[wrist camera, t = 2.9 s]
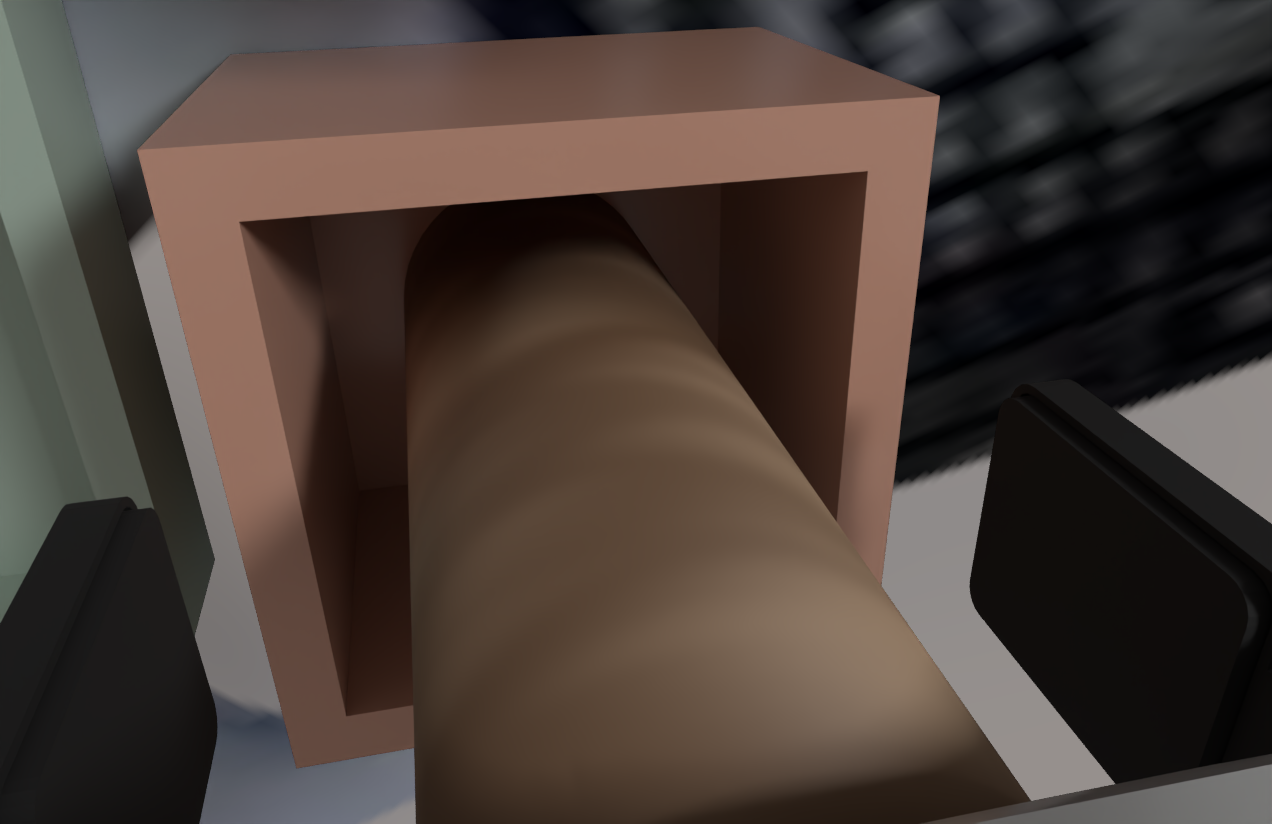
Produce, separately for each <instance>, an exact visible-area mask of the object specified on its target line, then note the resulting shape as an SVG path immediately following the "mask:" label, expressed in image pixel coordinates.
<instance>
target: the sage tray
mask: <svg viewBox="0 0 1272 824" xmlns="http://www.w3.org/2000/svg"><path fill="white" fill-rule="evenodd" d="M125 496H128V497H130V498H131V499H132V500H133V501H134V503H135V504H136V506H137V508H138V509H143V508H153V509H154V510H155V512H156V513H157V515H158V517H159V520H160V523H161V526H162V530H163V533H164V536H165V540H166V543H167V546H168V550H169V553H170V556H171V560H172V563H173V566H174V570H175V573H176V576H177V580H178V583H179V586H180V590H181V593H182V596H183V600H184V603H185V606H186V610H187V613H188V616H189V620H190V623H191V626H192V630H193V633H194V636H195V632H196V628H197V624H198V621H199V617H200V613H201V609H202V606H203V602H204V598H205V595H206V591H207V587H208V583H209V580H210V576H211V572H212V568H213V565H214V561H215V558H214V554H213V551H212V547H211V544H210V540H209V536H208V533H207V529H206V525H205V522H204V518H203V514H202V511H201V507H200V503H199V500H198V496H197V492H196V489H195V485H194V481H193V478H192V474H191V470H190V467H189V463H188V460H187V456H186V452H185V449H184V445H183V441H182V438H181V434H180V430H179V427H178V423H177V420H176V416H175V413H174V408H173V405H172V401H171V398H170V394H169V390H168V387H167V383H166V380H165V376H164V372H163V369H162V365H161V361H160V357H159V354H158V350H157V346H156V343H155V339H154V336H153V332H152V328H151V325H150V321H149V317H148V314H147V310H146V306H145V303H144V299H143V295H142V292H141V288H140V284H139V281H138V277H137V274H136V270H135V266H134V263H133V259H132V255H131V252H130V248H129V244H128V241H127V237H126V233H125V230H124V226H123V222H122V219H121V215H120V212H119V208H118V204H117V201H116V197H115V193H114V190H113V186H112V182H111V179H110V175H109V171H108V168H107V164H106V160H105V157H104V153H103V150H102V146H101V142H100V139H99V135H98V131H97V128H96V124H95V120H94V117H93V113H92V109H91V106H90V102H89V98H88V95H87V91H86V88H85V84H84V80H83V77H82V73H81V69H80V66H79V62H78V58H77V55H76V51H75V47H74V44H73V40H72V36H71V33H70V29H69V26H68V22H67V18H66V15H65V11H64V7H63V4H62V0H0V623H1V621H2V619H3V617H4V615H5V613H6V611H7V610H8V608H9V606H10V604H11V602H12V600H13V598H14V596H15V595H16V593H17V591H18V589H19V587H20V585H21V583H22V582H23V580H24V578H25V576H26V574H27V572H28V570H29V568H30V567H31V565H32V563H33V561H34V559H35V557H36V555H37V554H38V552H39V550H40V548H41V546H42V544H43V542H44V540H45V539H46V537H47V535H48V533H49V531H50V529H51V527H52V525H53V524H54V522H55V520H56V518H57V516H58V514H59V512H60V511H61V509H62V508H63V507H64V506H65V505H66V504H70V503H77V502H85V501H93V500H101V499H109V498H117V497H125Z"/></svg>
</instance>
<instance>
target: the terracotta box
mask: <svg viewBox="0 0 1272 824" xmlns="http://www.w3.org/2000/svg"><path fill="white" fill-rule="evenodd" d="M939 99H940V96H938V95H936V94H933V93H931V92H928V91H925V90H923V89H920V88H917V87H915V86H912V85H910V84H907V83H904V82H902V81H899V80H896V79H894V78H891V77H889V76H886V75H883V74H881V73H878V72H876V71H873V70H870V69H868V68H865V67H862V66H860V65H857V64H855V63H852V62H849V61H847V60H844V59H841V58H839V57H836V56H834V55H831V54H828V53H826V52H823V51H820V50H818V49H815V48H813V47H810V46H807V45H805V44H802V43H800V42H797V41H794V40H792V39H789V38H786V37H784V36H781V35H779V34H776V33H773V32H771V31H768V30H765V29H763V28H760V27H748V28H728V29H709V30H690V31H671V32H652V33H632V34H613V35H594V36H575V37H555V38H536V39H517V40H498V41H478V42H459V43H440V44H421V45H402V46H382V47H363V48H344V49H325V50H306V51H286V52H267V53H248V54H231V55H230V56H229V57H228V58H227V59H226V60H225V61H224V62H223V63H222V64H221V65H220V66H219V67H218V68H217V69H216V70H215V71H214V72H213V73H212V74H211V75H210V76H209V77H208V78H207V79H206V80H205V81H204V82H203V83H202V84H201V85H200V86H199V87H198V88H197V89H196V90H195V91H194V92H193V93H192V94H191V95H190V96H189V97H188V99H187V100H186V101H185V102H184V103H183V104H182V105H181V106H180V107H179V108H178V109H177V110H176V111H175V112H174V113H173V114H172V115H171V116H170V117H169V118H168V119H167V120H166V121H165V122H164V123H163V124H162V125H161V126H160V127H159V128H158V129H157V130H156V131H155V132H154V133H153V134H152V135H151V136H150V137H149V138H148V139H147V140H146V141H145V142H144V143H143V144H142V145H141V146H140V147H139V148H138V150H137V152H138V155H139V159H140V163H141V167H142V171H143V175H144V179H145V183H146V186H147V190H148V194H149V198H150V202H151V206H152V210H153V214H154V217H155V221H156V225H157V229H158V233H159V237H160V241H161V244H162V248H163V252H164V256H165V260H166V264H167V268H168V271H169V276H170V279H171V283H172V287H173V291H174V295H175V299H176V303H177V306H178V311H179V314H180V318H181V322H182V326H183V330H184V334H185V338H186V342H187V345H188V349H189V353H190V357H191V361H192V365H193V369H194V372H195V376H196V380H197V384H198V388H199V392H200V396H201V399H202V404H203V407H204V411H205V415H206V419H207V423H208V427H209V431H210V435H211V439H212V442H213V446H214V450H215V454H216V457H217V462H218V466H219V469H220V473H221V477H222V481H223V485H224V489H225V492H226V496H227V501H228V504H229V508H230V512H231V516H232V520H233V524H234V527H235V532H236V535H237V539H238V543H239V547H240V551H241V555H242V558H243V563H244V566H245V570H246V574H247V578H248V582H249V586H250V590H251V594H252V597H253V601H254V605H255V609H256V613H257V617H258V621H259V625H260V629H261V632H262V636H263V640H264V644H265V648H266V652H267V656H268V659H269V663H270V667H271V671H272V675H273V679H274V683H275V687H276V691H277V694H278V698H279V702H280V706H281V710H282V714H283V718H284V722H285V725H286V729H287V733H288V737H289V741H290V745H291V749H292V753H293V757H294V760H295V764H296V768H302V767H308V766H313V765H319V764H325V763H331V762H336V761H342V760H348V759H353V758H359V757H365V756H371V755H376V754H382V753H388V752H393V751H399V750H405V749H411V748H414V714H413V671H412V627H411V584H410V541H409V497H408V454H407V411H406V367H405V324H404V288H405V278H406V274H407V269H408V265H409V262H410V259H411V257H412V254H413V251H414V249H415V247H416V245H417V244H418V242H419V240H420V238H421V236H422V235H423V233H424V232H425V231H426V229H427V228H428V227H429V225H430V224H431V222H432V221H433V220H434V219H435V218H436V217H437V216H438V215H439V214H440V213H441V212H442V211H443V210H444V209H445V208H447V207H448V206H449V205H453V204H465V203H478V202H490V201H503V200H515V199H528V198H540V197H552V196H565V195H577V194H590V193H594V194H596V195H597V196H599V197H601V198H602V199H603V200H605V201H606V202H607V203H609V204H610V205H611V206H612V207H614V208H615V209H616V210H617V212H618V213H619V214H620V215H621V216H622V217H623V218H624V219H625V220H626V221H627V223H628V224H629V225H630V227H631V228H632V230H633V231H634V232H635V234H636V235H637V237H638V238H639V239H640V241H641V242H642V244H643V245H644V247H645V248H646V250H647V251H648V252H649V254H650V255H651V257H652V258H653V260H654V261H655V262H656V264H657V265H658V267H659V268H660V270H661V271H662V272H663V274H664V275H665V277H666V278H667V280H668V281H669V283H670V284H671V285H672V287H673V288H674V290H675V291H676V293H677V294H678V295H679V297H680V298H681V300H682V301H683V303H684V304H685V305H686V307H687V308H688V310H689V311H690V313H691V314H692V315H693V317H694V318H695V320H696V321H697V323H698V324H699V326H700V327H701V328H702V330H703V331H704V333H705V334H706V336H707V337H708V338H709V340H710V341H711V343H712V344H713V346H714V347H715V348H716V350H717V351H718V353H719V354H720V356H721V357H722V359H723V360H724V361H725V363H726V364H727V366H728V367H729V369H730V370H731V371H732V373H733V374H734V376H735V377H736V379H737V380H738V381H739V383H740V384H741V386H742V387H743V389H744V390H745V391H746V393H747V394H748V396H749V397H750V399H751V400H752V402H753V403H754V404H755V406H756V407H757V409H758V410H759V412H760V413H761V414H762V416H763V417H764V419H765V420H766V422H767V423H768V424H769V426H770V427H771V429H772V430H773V432H774V433H775V435H776V436H777V437H778V439H779V440H780V442H781V443H782V445H783V446H784V447H785V449H786V450H787V452H788V453H789V455H790V456H791V457H792V459H793V460H794V462H795V463H796V465H797V466H798V467H799V469H800V470H801V472H802V473H803V475H804V476H805V478H806V479H807V480H808V482H809V483H810V485H811V486H812V488H813V489H814V490H815V492H816V493H817V495H818V496H819V498H820V499H821V500H822V502H823V503H824V505H825V506H826V508H827V509H828V510H829V512H830V513H831V515H832V516H833V518H834V519H835V521H836V522H837V523H838V525H839V526H840V528H841V529H842V531H843V532H844V533H845V535H846V536H847V538H848V539H849V541H850V542H851V543H852V545H853V546H854V548H855V549H856V551H857V552H858V554H859V555H860V556H861V558H862V559H863V561H864V562H865V564H866V565H867V566H868V568H869V569H870V571H871V572H872V574H873V575H874V576H875V578H876V579H877V581H878V582H879V584H880V585H881V584H882V574H883V567H884V559H885V550H886V542H887V533H888V525H889V517H890V508H891V500H892V492H893V483H894V475H895V467H896V458H897V450H898V442H899V433H900V425H901V416H902V408H903V400H904V391H905V383H906V375H907V366H908V358H909V349H910V341H911V333H912V324H913V316H914V308H915V299H916V291H917V283H918V274H919V266H920V257H921V249H922V241H923V232H924V224H925V216H926V207H927V199H928V191H929V182H930V174H931V165H932V157H933V149H934V140H935V132H936V124H937V115H938V107H939Z"/></svg>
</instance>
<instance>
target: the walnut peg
mask: <svg viewBox="0 0 1272 824" xmlns="http://www.w3.org/2000/svg"><path fill="white" fill-rule="evenodd" d="M404 324H405V367H406V411H407V454H408V497H409V541H410V584H411V627H412V671H413V714H414V757H415V801H416V824H921V823H926V822H931V821H936V820H941V819H945V818H950V817H955V816H960V815H965V814H970V813H975V812H979V811H984V810H989V809H994V808H999V807H1004V806H1009V805H1014V804H1019V803H1024V802H1029V801H1031V800H1030V799H1029V797H1028V796H1027V794H1026V793H1025V792H1024V790H1023V789H1022V787H1021V786H1020V785H1019V783H1018V781H1017V780H1016V779H1015V777H1014V776H1013V775H1012V773H1011V772H1010V770H1009V769H1008V767H1007V766H1006V764H1005V763H1004V761H1003V760H1002V759H1001V757H1000V756H999V754H998V753H997V751H996V750H995V749H994V747H993V746H992V744H991V743H990V741H989V740H988V738H987V737H986V736H985V734H984V733H983V732H982V730H981V729H980V727H979V726H978V724H977V723H976V721H975V720H974V718H973V717H972V716H971V714H970V713H969V711H968V710H967V709H966V707H965V706H964V704H963V703H962V701H961V700H960V698H959V697H958V696H957V694H956V693H955V691H954V690H953V689H952V687H951V686H950V684H949V683H948V681H947V680H946V678H945V677H944V675H943V674H942V673H941V671H940V670H939V668H938V667H937V666H936V664H935V663H934V661H933V660H932V658H931V657H930V655H929V654H928V653H927V651H926V650H925V648H924V647H923V645H922V644H921V642H920V641H919V640H918V638H917V637H916V635H915V634H914V632H913V631H912V630H911V628H910V627H909V625H908V624H907V622H906V621H905V620H904V618H903V617H902V615H901V614H900V612H899V611H898V610H897V608H896V607H895V605H894V604H893V602H892V601H891V599H890V598H889V597H888V595H887V594H886V592H885V591H884V589H883V588H882V586H881V585H880V584H879V582H878V581H877V579H876V578H875V576H874V575H873V574H872V572H871V571H870V569H869V568H868V566H867V565H866V564H865V562H864V561H863V559H862V558H861V556H860V555H859V554H858V552H857V551H856V549H855V548H854V546H853V545H852V543H851V542H850V541H849V539H848V538H847V536H846V535H845V533H844V532H843V531H842V529H841V528H840V526H839V525H838V523H837V522H836V521H835V519H834V518H833V516H832V515H831V513H830V512H829V510H828V509H827V508H826V506H825V505H824V503H823V502H822V500H821V499H820V498H819V496H818V495H817V493H816V492H815V490H814V489H813V488H812V486H811V485H810V483H809V482H808V480H807V479H806V478H805V476H804V475H803V473H802V472H801V470H800V469H799V467H798V466H797V465H796V463H795V462H794V460H793V459H792V457H791V456H790V455H789V453H788V452H787V450H786V449H785V447H784V446H783V445H782V443H781V442H780V440H779V439H778V437H777V436H776V435H775V433H774V432H773V430H772V429H771V427H770V426H769V424H768V423H767V422H766V420H765V419H764V417H763V416H762V414H761V413H760V412H759V410H758V409H757V407H756V406H755V404H754V403H753V402H752V400H751V399H750V397H749V396H748V394H747V393H746V391H745V390H744V389H743V387H742V386H741V384H740V383H739V381H738V380H737V379H736V377H735V376H734V374H733V373H732V371H731V370H730V369H729V367H728V366H727V364H726V363H725V361H724V360H723V359H722V357H721V356H720V354H719V353H718V351H717V350H716V348H715V347H714V346H713V344H712V343H711V341H710V340H709V338H708V337H707V336H706V334H705V333H704V331H703V330H702V328H701V327H700V326H699V324H698V323H697V321H696V320H695V318H694V317H693V315H692V314H691V313H690V311H689V310H688V308H687V307H686V305H685V304H684V303H683V301H682V300H681V298H680V297H679V295H678V294H677V293H676V291H675V290H674V288H673V287H672V285H671V284H670V283H669V281H668V280H667V278H666V277H665V275H664V274H663V272H662V271H661V270H660V268H659V267H658V265H657V264H656V262H655V261H654V260H653V258H652V257H651V255H650V254H649V252H648V251H647V250H646V248H645V247H644V245H643V244H642V242H641V241H640V239H639V238H638V237H637V235H636V234H635V232H634V231H633V230H632V228H631V227H630V225H629V224H628V223H627V221H626V220H625V219H624V218H623V217H622V216H621V215H620V214H619V213H618V212H617V210H616V209H615V208H614V207H612V206H611V205H610V204H609V203H607V202H606V201H605V200H603V199H602V198H601V197H599V196H597V195H596V194H594V193H590V194H577V195H565V196H552V197H540V198H528V199H515V200H503V201H490V202H478V203H465V204H453V205H449V206H448V207H447V208H445V209H444V210H443V211H442V212H441V213H440V214H439V215H438V216H437V217H436V218H435V219H434V220H433V221H432V222H431V224H430V225H429V227H428V228H427V229H426V231H425V232H424V233H423V235H422V236H421V238H420V240H419V242H418V244H417V245H416V247H415V249H414V251H413V254H412V257H411V259H410V262H409V265H408V269H407V274H406V278H405V288H404Z"/></svg>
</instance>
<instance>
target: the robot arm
mask: <svg viewBox="0 0 1272 824" xmlns="http://www.w3.org/2000/svg"><path fill="white" fill-rule="evenodd" d="M970 594H971V598H972V602H973V604H974V607H975V609H976V610H977V612H978V613H979V615H980V616H981V617H982V619H983V620H984V621H985V622H986V624H987V625H988V626H989V627H990V629H991V630H992V631H993V632H994V634H995V635H996V636H997V637H998V639H999V640H1000V641H1001V642H1002V643H1003V645H1004V646H1005V647H1006V649H1007V650H1008V651H1009V652H1010V653H1011V655H1012V656H1013V657H1014V658H1015V660H1016V661H1017V662H1018V663H1019V664H1020V666H1021V667H1022V668H1023V670H1024V671H1025V672H1026V673H1027V675H1028V676H1029V677H1030V678H1031V679H1032V681H1033V682H1034V683H1035V684H1036V686H1037V687H1038V688H1039V689H1040V691H1041V692H1042V693H1043V694H1044V696H1045V697H1046V698H1047V699H1048V701H1049V702H1050V703H1051V704H1052V705H1053V707H1054V708H1055V709H1056V711H1057V712H1058V713H1059V714H1060V715H1061V717H1062V718H1063V719H1064V720H1065V722H1066V723H1067V724H1068V725H1069V727H1070V728H1071V729H1072V730H1073V732H1074V733H1075V734H1076V735H1077V737H1078V738H1079V739H1080V740H1081V741H1082V743H1083V744H1084V745H1085V747H1086V748H1087V749H1088V750H1089V751H1090V753H1091V754H1092V755H1093V757H1094V758H1095V759H1096V760H1097V761H1098V763H1099V764H1100V765H1101V766H1102V768H1103V769H1104V770H1105V771H1106V772H1107V774H1108V775H1109V776H1110V778H1111V779H1112V780H1113V781H1114V783H1115V784H1114V785H1109V786H1104V787H1100V788H1094V789H1089V790H1084V791H1079V792H1074V793H1069V794H1064V795H1059V796H1054V797H1049V798H1044V799H1039V800H1034V801H1029V802H1024V803H1019V804H1014V805H1009V806H1004V807H999V808H994V809H989V810H984V811H979V812H975V813H970V814H965V815H960V816H955V817H950V818H945V819H941V820H936V821H931V822H926V823H921V824H1272V524H1271V523H1270V522H1268V521H1267V520H1265V519H1264V518H1263V517H1261V516H1260V515H1259V514H1257V513H1256V512H1254V511H1253V510H1252V509H1250V508H1249V507H1248V506H1246V505H1245V504H1243V503H1242V502H1241V501H1239V500H1238V499H1236V498H1235V497H1234V496H1232V495H1231V494H1230V493H1228V492H1227V491H1225V490H1224V489H1223V488H1221V487H1220V486H1219V485H1217V484H1216V483H1214V482H1213V481H1212V480H1210V479H1209V478H1207V477H1206V476H1205V475H1203V474H1202V473H1200V472H1199V471H1198V470H1196V469H1195V468H1194V467H1192V466H1191V465H1190V464H1188V463H1186V462H1185V461H1184V460H1182V459H1181V458H1180V457H1179V456H1177V455H1176V454H1174V453H1173V452H1172V451H1170V450H1169V449H1167V448H1166V447H1164V446H1163V445H1162V444H1161V443H1159V442H1158V441H1156V440H1155V439H1154V438H1152V437H1151V436H1150V435H1148V434H1147V433H1145V432H1144V431H1143V430H1141V429H1140V428H1138V427H1137V426H1136V425H1134V424H1133V423H1132V422H1130V421H1129V420H1127V419H1126V418H1125V417H1123V416H1122V415H1121V414H1119V413H1118V412H1116V411H1115V410H1114V409H1112V408H1111V407H1110V406H1108V405H1107V404H1105V403H1104V402H1103V401H1101V400H1100V399H1099V398H1097V397H1096V396H1094V395H1093V394H1092V393H1090V392H1089V391H1087V390H1086V389H1085V388H1083V387H1082V386H1081V385H1079V384H1078V383H1076V382H1074V381H1072V380H1070V379H1062V380H1054V381H1046V382H1038V383H1030V384H1022V385H1020V386H1019V387H1017V388H1016V389H1015V391H1014V392H1013V394H1012V396H1011V398H1008V399H1006V400H1005V401H1004V402H1003V403H1002V405H1001V407H1000V410H999V414H998V420H997V426H996V432H995V438H994V443H993V449H992V455H991V461H990V467H989V473H988V478H987V484H986V491H985V496H984V502H983V507H982V513H981V519H980V526H979V531H978V537H977V542H976V548H975V554H974V560H973V566H972V572H971V577H970ZM216 739H217V714H216V708H215V703H214V700H213V696H212V693H211V690H210V686H209V683H208V680H207V677H206V673H205V670H204V666H203V663H202V660H201V656H200V653H199V650H198V647H197V643H196V640H195V636H194V633H193V630H192V626H191V623H190V620H189V616H188V613H187V610H186V606H185V603H184V600H183V596H182V593H181V590H180V586H179V583H178V580H177V576H176V573H175V570H174V566H173V563H172V560H171V556H170V553H169V550H168V546H167V543H166V540H165V536H164V533H163V530H162V526H161V523H160V520H159V517H158V515H157V513H156V512H155V510H154V509H153V508H143V509H138V508H137V506H136V504H135V503H134V501H133V500H132V499H131V498H130V497H128V496H125V497H117V498H109V499H101V500H93V501H85V502H77V503H70V504H66V505H65V506H64V507H63V508H62V509H61V511H60V512H59V514H58V516H57V518H56V520H55V522H54V524H53V525H52V527H51V529H50V531H49V533H48V535H47V537H46V539H45V540H44V542H43V544H42V546H41V548H40V550H39V552H38V554H37V555H36V557H35V559H34V561H33V563H32V565H31V567H30V568H29V570H28V572H27V574H26V576H25V578H24V580H23V582H22V583H21V585H20V587H19V589H18V591H17V593H16V595H15V596H14V598H13V600H12V602H11V604H10V606H9V608H8V610H7V611H6V613H5V615H4V617H3V619H2V621H1V623H0V824H199V822H200V818H201V813H202V808H203V803H204V798H205V793H206V789H207V784H208V779H209V774H210V769H211V765H212V760H213V755H214V750H215V745H216Z"/></svg>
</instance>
